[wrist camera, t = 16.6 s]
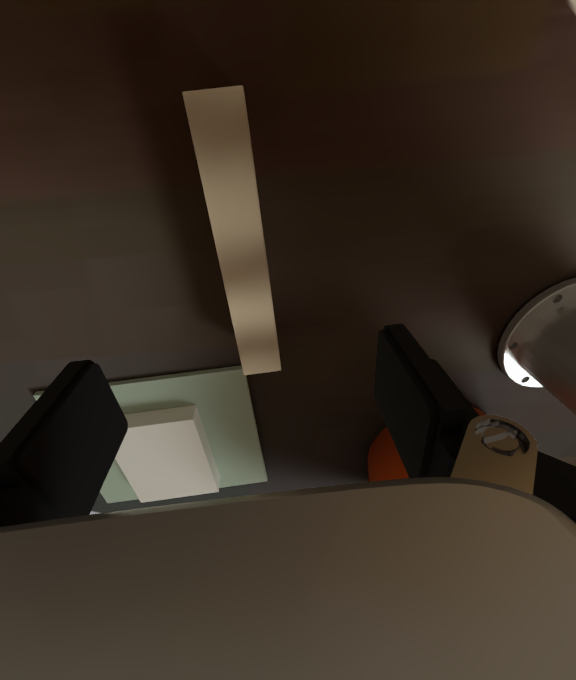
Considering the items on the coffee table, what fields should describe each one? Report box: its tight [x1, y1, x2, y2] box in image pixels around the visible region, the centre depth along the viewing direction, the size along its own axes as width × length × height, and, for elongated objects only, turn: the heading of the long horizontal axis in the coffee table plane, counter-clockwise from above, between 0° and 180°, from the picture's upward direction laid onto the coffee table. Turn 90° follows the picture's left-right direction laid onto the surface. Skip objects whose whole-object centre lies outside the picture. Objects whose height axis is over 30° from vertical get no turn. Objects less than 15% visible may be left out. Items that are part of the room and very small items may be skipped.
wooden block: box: [182, 85, 281, 375], centre depth 23 cm, size 18×3×6 cm, turn 5°
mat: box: [33, 365, 267, 503], centre depth 36 cm, size 20×18×1 cm
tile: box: [115, 405, 220, 503], centre depth 35 cm, size 9×2×12 cm
